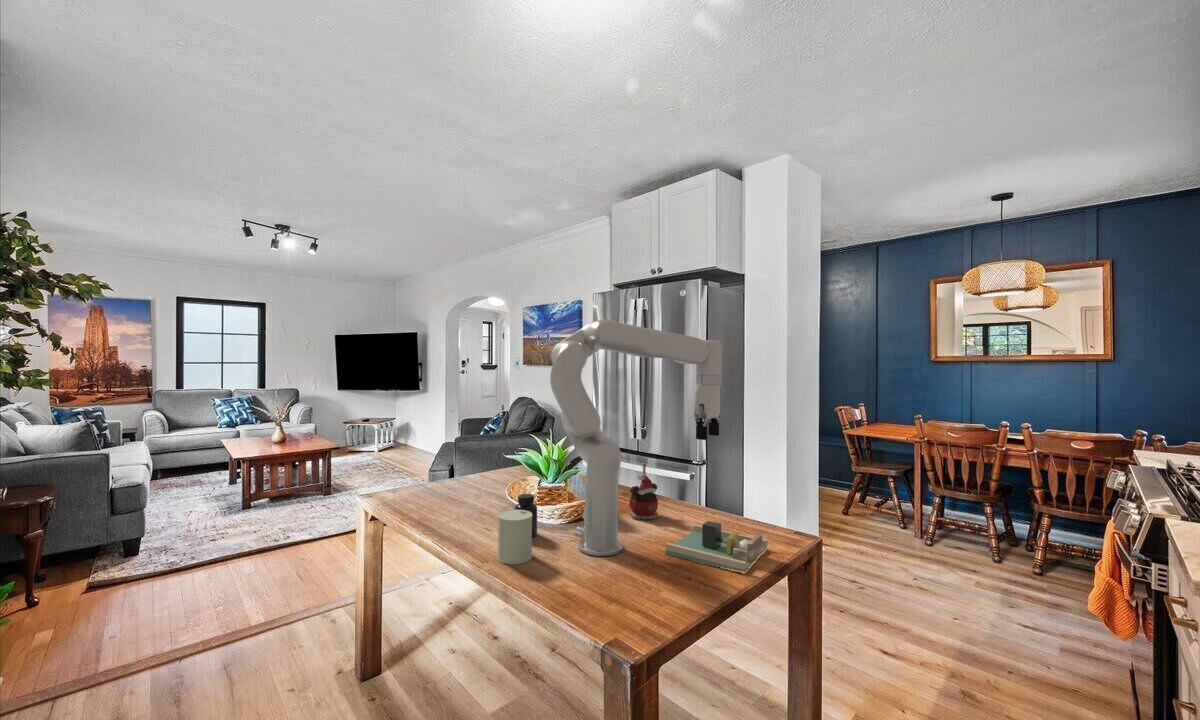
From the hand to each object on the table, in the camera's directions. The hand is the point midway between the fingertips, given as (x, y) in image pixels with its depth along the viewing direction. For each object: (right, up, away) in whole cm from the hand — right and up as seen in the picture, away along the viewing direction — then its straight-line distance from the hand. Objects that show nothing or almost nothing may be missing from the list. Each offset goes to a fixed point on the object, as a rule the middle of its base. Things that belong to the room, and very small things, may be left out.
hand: (707, 437), depth 151 cm
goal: (+7, -29, -16) cm, 34 cm away
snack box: (-39, -30, +24) cm, 54 cm away
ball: (+7, -28, -15) cm, 32 cm away
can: (-55, -30, -17) cm, 65 cm away
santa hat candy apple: (-18, -30, +19) cm, 40 cm away
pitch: (0, -30, -11) cm, 32 cm away
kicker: (+1, -29, -12) cm, 31 cm away
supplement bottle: (-55, -30, 0) cm, 63 cm away
